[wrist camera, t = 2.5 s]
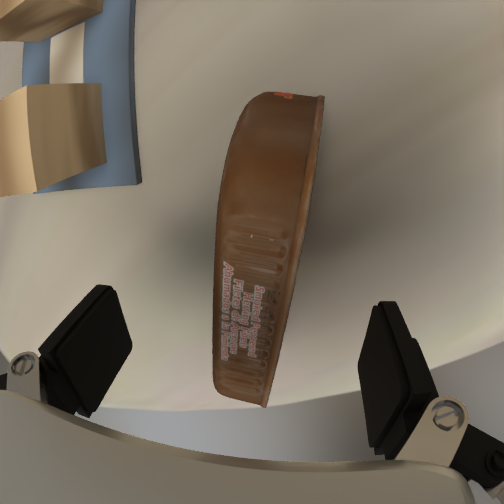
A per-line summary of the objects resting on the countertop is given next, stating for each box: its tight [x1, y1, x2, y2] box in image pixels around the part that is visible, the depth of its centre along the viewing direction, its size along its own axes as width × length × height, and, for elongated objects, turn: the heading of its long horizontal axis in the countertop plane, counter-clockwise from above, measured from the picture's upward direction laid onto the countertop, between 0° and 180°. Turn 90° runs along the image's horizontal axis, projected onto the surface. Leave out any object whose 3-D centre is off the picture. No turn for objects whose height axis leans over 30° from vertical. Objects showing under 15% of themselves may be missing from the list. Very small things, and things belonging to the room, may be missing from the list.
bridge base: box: [0, 0, 142, 197], centre depth 11 cm, size 10×18×7 cm, turn 1°
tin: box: [212, 92, 325, 408], centre depth 13 cm, size 15×3×8 cm, turn 174°
